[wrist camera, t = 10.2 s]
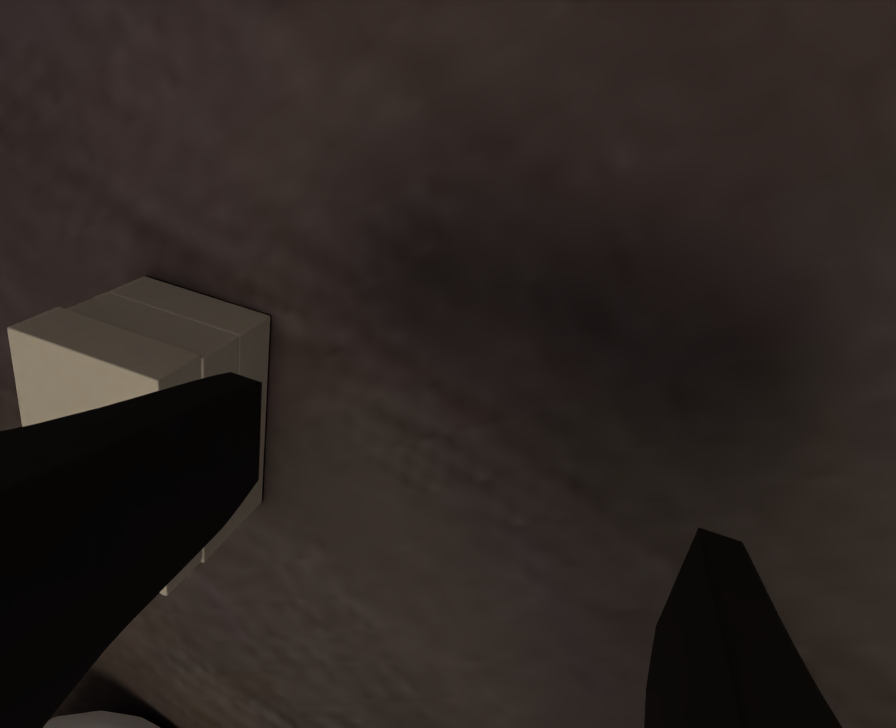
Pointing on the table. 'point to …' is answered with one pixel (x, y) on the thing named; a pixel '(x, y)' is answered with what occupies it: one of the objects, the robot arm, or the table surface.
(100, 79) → the table surface
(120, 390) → the beige box
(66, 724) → the white jar
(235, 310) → the beige block
